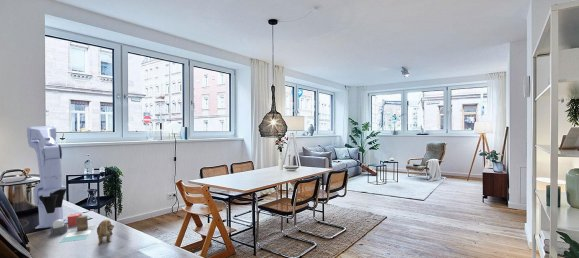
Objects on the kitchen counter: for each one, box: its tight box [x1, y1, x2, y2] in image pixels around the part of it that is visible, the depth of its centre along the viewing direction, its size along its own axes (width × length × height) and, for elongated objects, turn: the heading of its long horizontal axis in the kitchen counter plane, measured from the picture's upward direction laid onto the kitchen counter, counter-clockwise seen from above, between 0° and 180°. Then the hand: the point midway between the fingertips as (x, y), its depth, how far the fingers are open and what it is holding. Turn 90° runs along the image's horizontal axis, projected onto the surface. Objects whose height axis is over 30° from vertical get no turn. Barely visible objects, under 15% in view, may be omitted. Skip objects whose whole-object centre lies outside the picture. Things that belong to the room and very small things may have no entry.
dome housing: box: [49, 223, 68, 237], centre depth 120 cm, size 5×5×3 cm
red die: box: [67, 212, 83, 227], centre depth 130 cm, size 4×4×4 cm
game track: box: [59, 225, 96, 243], centre depth 119 cm, size 15×8×1 cm, turn 20°
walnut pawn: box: [76, 215, 89, 231], centre depth 124 cm, size 4×4×5 cm
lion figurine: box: [96, 219, 115, 246], centre depth 112 cm, size 15×5×9 cm, turn 34°
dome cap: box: [53, 219, 65, 228], centre depth 120 cm, size 4×4×4 cm
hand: (54, 210), depth 120 cm, fingers open, 7 cm apart
